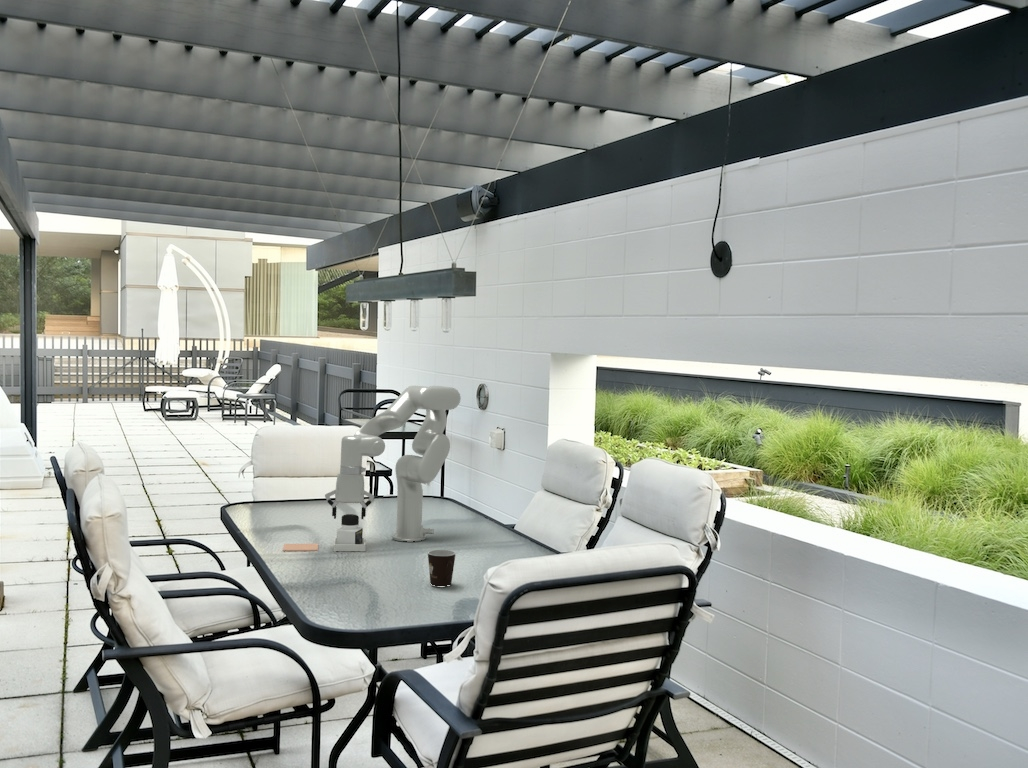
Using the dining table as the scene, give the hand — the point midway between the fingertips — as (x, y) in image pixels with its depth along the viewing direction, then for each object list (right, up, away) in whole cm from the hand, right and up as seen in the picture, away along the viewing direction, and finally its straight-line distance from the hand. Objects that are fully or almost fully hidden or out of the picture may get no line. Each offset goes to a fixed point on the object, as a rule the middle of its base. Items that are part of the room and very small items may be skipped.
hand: (348, 518), depth 334 cm
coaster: (-17, -10, -2) cm, 20 cm away
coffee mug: (+36, -15, -45) cm, 60 cm away
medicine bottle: (0, -11, +1) cm, 11 cm away
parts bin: (0, -11, +1) cm, 11 cm away
